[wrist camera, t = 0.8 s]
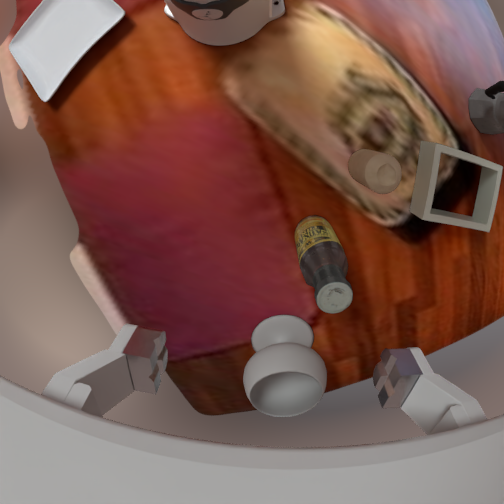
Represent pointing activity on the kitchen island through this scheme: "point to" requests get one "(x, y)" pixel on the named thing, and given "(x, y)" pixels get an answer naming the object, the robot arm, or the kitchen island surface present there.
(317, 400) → the chalice
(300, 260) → the sauce bottle
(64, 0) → the salad plate
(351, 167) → the candle
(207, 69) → the kitchen island surface
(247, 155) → the kitchen island surface
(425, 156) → the grey rectangular frame
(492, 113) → the coffeepot
